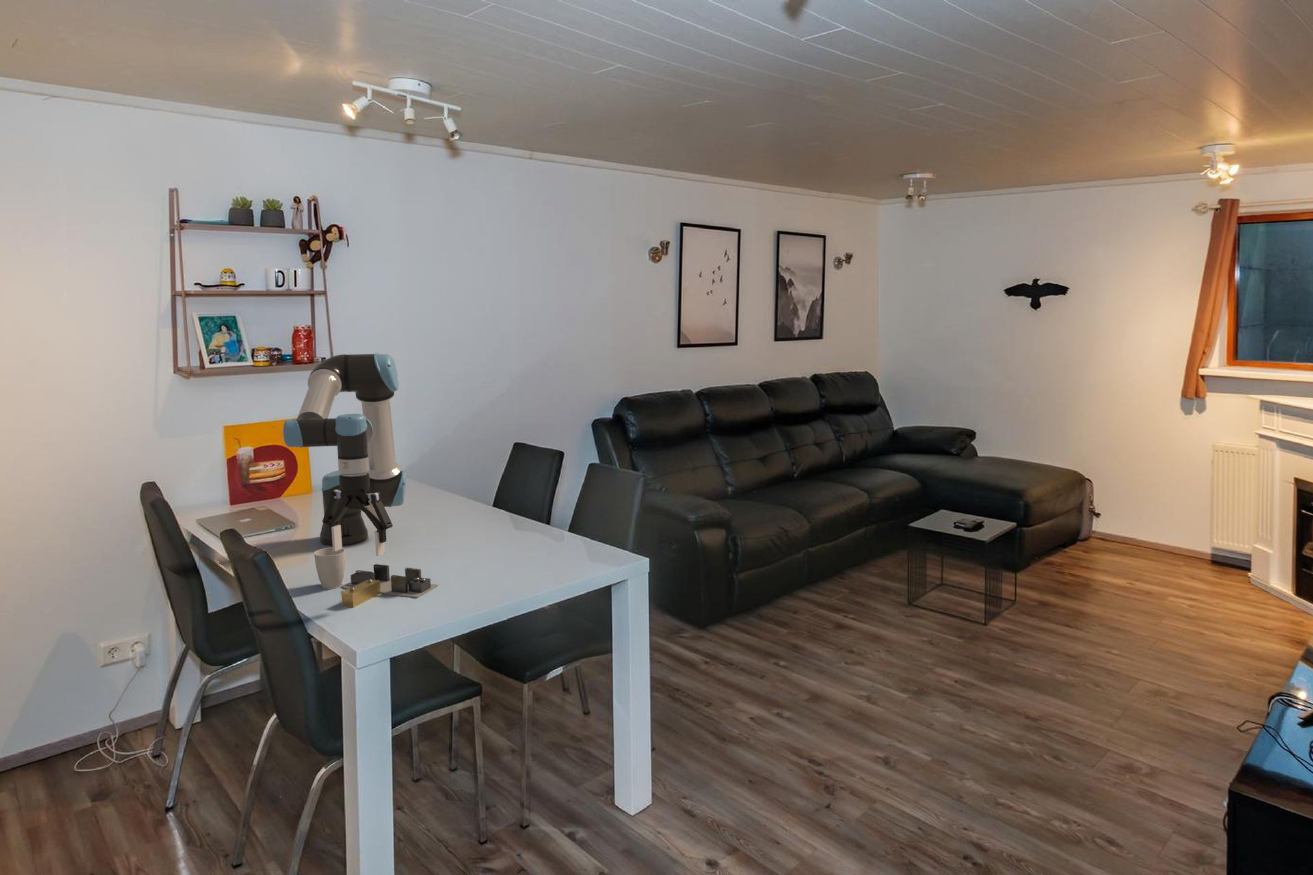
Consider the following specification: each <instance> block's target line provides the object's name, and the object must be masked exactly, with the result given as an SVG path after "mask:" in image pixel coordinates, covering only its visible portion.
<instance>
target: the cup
mask: <svg viewBox="0 0 1313 875" xmlns="http://www.w3.org/2000/svg"><path fill="white" fill-rule="evenodd" d="M313 554H314V556H313V557H314V561H315V562H314V563H315V568H316V572H317V578H318V580H319V582H320V585H321V587H322V588H323V589H328V590H331V589H337V588H340V587H341V586H342V584H343V581H344V576H345V570H346V549H345V548H344V547H342V549H340V550H337V551H333V546H332V547H324V548H321V549H320V548H319V549H317V550H315V551H314V552H313Z"/></svg>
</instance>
